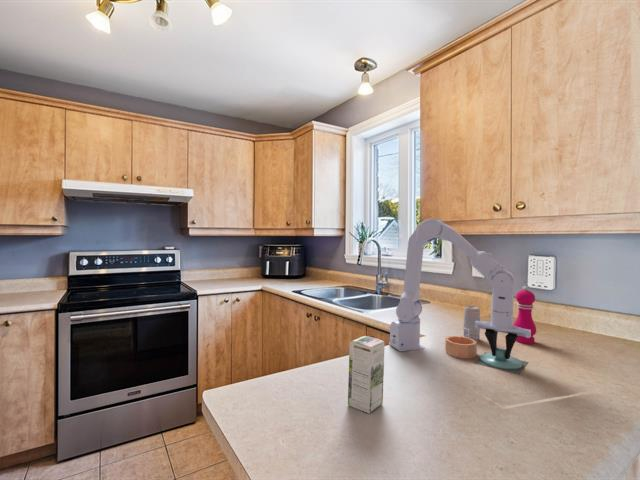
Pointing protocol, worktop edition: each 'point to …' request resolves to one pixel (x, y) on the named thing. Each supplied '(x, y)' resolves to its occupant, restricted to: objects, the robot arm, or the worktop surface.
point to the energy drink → (471, 322)
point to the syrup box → (366, 373)
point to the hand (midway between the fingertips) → (500, 356)
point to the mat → (503, 369)
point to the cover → (501, 360)
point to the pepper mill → (525, 314)
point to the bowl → (460, 347)
